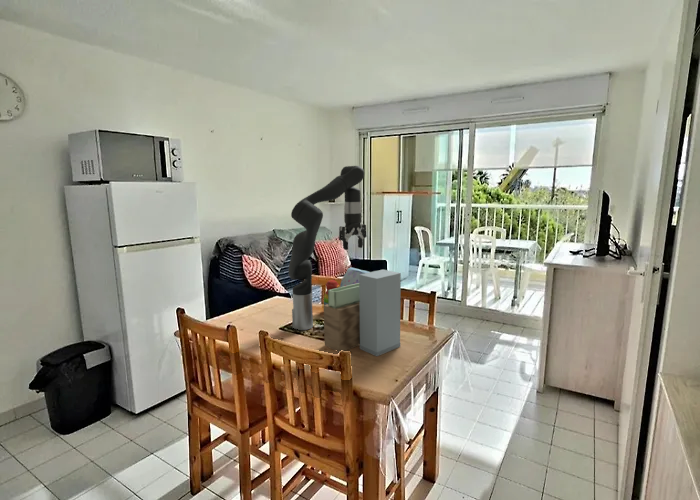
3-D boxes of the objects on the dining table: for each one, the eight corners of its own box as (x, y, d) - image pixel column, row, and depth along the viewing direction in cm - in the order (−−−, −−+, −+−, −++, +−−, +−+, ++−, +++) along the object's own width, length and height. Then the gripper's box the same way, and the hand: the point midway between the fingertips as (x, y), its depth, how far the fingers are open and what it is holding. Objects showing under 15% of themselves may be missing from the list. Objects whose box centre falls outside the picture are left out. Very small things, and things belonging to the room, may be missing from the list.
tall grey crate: (376, 356, 154) (376, 278, 149) (359, 348, 162) (358, 274, 156) (400, 346, 163) (401, 273, 158) (383, 339, 171) (383, 269, 166)
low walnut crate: (339, 352, 158) (338, 310, 155) (324, 345, 166) (323, 305, 163) (378, 337, 173) (378, 299, 170) (363, 331, 181) (363, 294, 178)
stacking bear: (335, 316, 203) (334, 283, 200) (319, 313, 208) (318, 281, 205) (346, 310, 212) (345, 279, 209) (331, 307, 217) (330, 277, 214)
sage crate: (335, 308, 158) (334, 292, 157) (328, 306, 161) (328, 290, 160) (373, 298, 172) (373, 282, 171) (366, 296, 175) (366, 281, 174)
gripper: (346, 213, 162) (346, 251, 164) (370, 211, 171) (370, 247, 173) (334, 212, 167) (335, 249, 170) (358, 211, 176) (359, 246, 179)
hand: (353, 248), depth 172 cm, fingers open, 8 cm apart
